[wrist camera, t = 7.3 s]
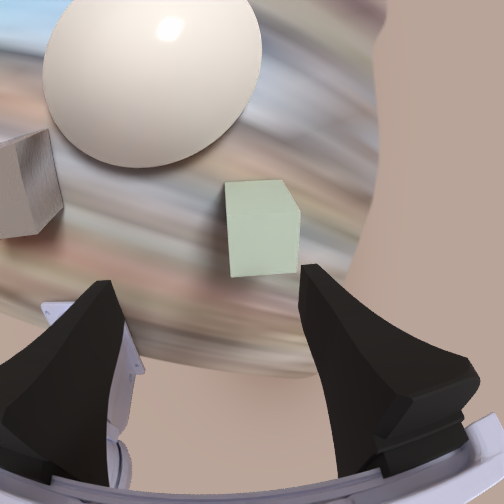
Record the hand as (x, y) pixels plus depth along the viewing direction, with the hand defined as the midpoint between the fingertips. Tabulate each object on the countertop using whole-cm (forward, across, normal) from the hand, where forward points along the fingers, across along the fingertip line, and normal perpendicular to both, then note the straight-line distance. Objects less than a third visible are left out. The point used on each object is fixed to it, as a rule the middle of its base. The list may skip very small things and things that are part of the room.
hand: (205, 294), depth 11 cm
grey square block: (+10, +13, -4) cm, 17 cm away
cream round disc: (+10, +3, -9) cm, 14 cm away
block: (+10, -3, +1) cm, 10 cm away
